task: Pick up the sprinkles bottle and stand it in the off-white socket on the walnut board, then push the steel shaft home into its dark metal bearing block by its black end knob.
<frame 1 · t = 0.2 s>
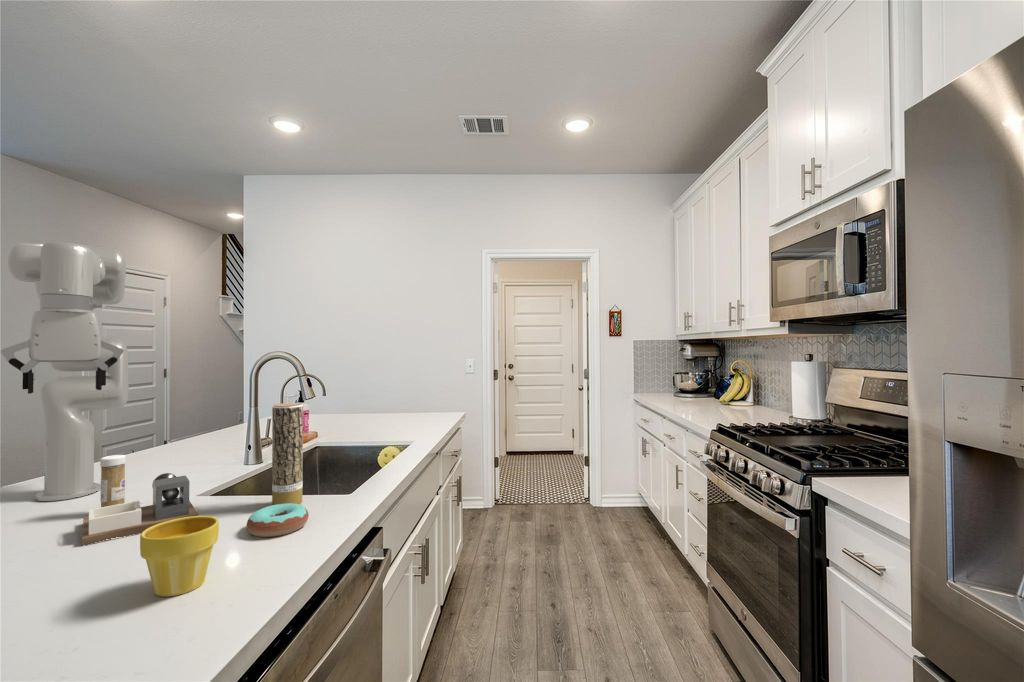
hand: (65, 391, 89), 31 cm above the countertop, tool pointing down, fingers open, 9 cm apart
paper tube: (287, 505, 112), on the countertop
donut: (278, 529, 98), on the countertop
bearing block: (171, 497, 102), on the walnut board, point 5 cm above the countertop
plant pot: (180, 587, 74), on the countertop
sprinkles bottle: (112, 513, 107), on the countertop
socket: (115, 516, 96), on the walnut board, point 2 cm above the countertop
walnut board: (141, 522, 101), on the countertop
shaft: (168, 488, 106), point 6 cm above the countertop, slide at 5.0 cm
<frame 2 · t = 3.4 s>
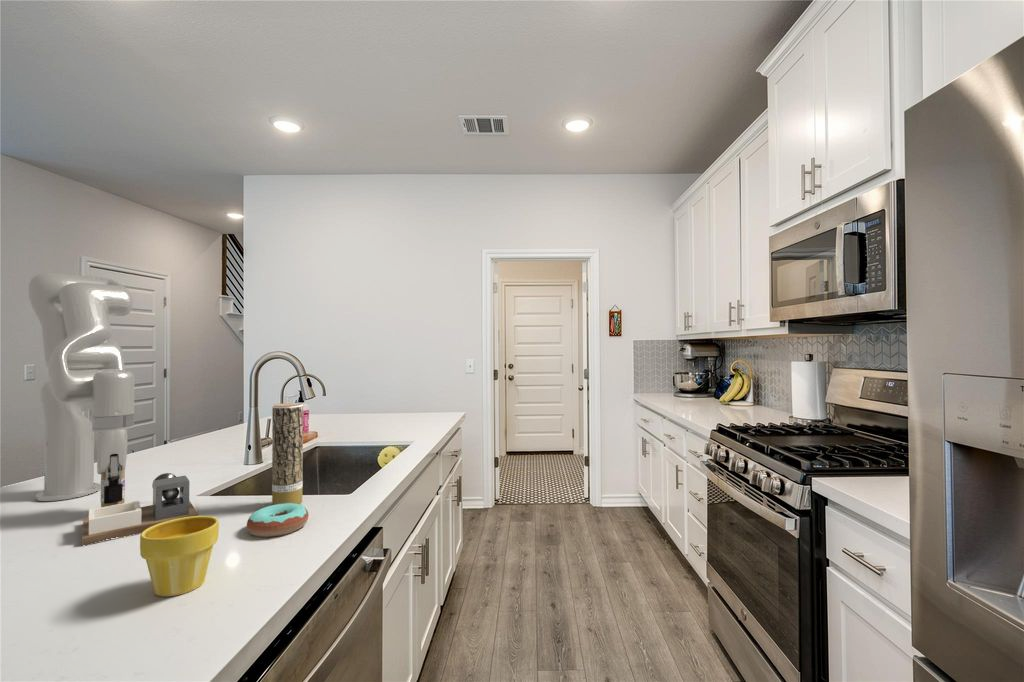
hand: (112, 498, 107), 3 cm above the countertop, tool pointing down, fingers closed on sprinkles bottle, 4 cm apart
sprinkles bottle: (112, 513, 107), on the countertop, touching gripper
everything else where it was.
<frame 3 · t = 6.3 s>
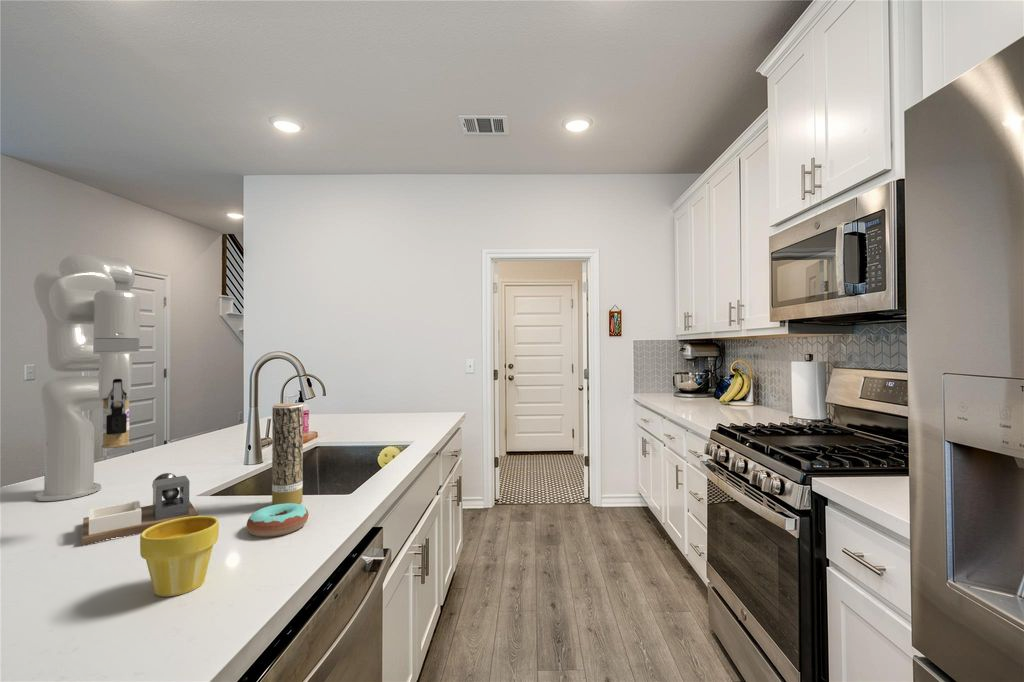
hand: (115, 431, 97), 21 cm above the countertop, tool pointing down, fingers closed on sprinkles bottle, 4 cm apart
sprinkles bottle: (115, 447, 97), point 18 cm above the countertop, touching gripper
everything else where it was.
when the fingers open (6 cm above the countertop, at t = 9.5 s): sprinkles bottle drops 1 cm, resting on walnut board.
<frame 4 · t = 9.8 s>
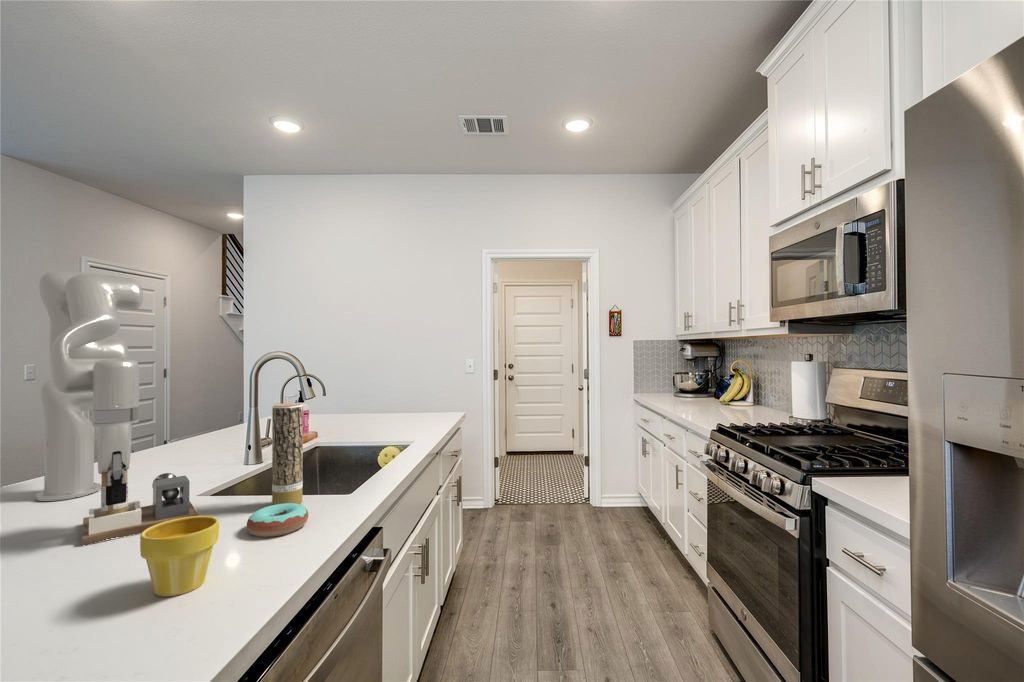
hand: (115, 498, 96), 7 cm above the countertop, tool pointing down, fingers open, 7 cm apart
sprinkles bottle: (114, 524, 96), point 1 cm above the countertop, touching walnut board
everything else where it was.
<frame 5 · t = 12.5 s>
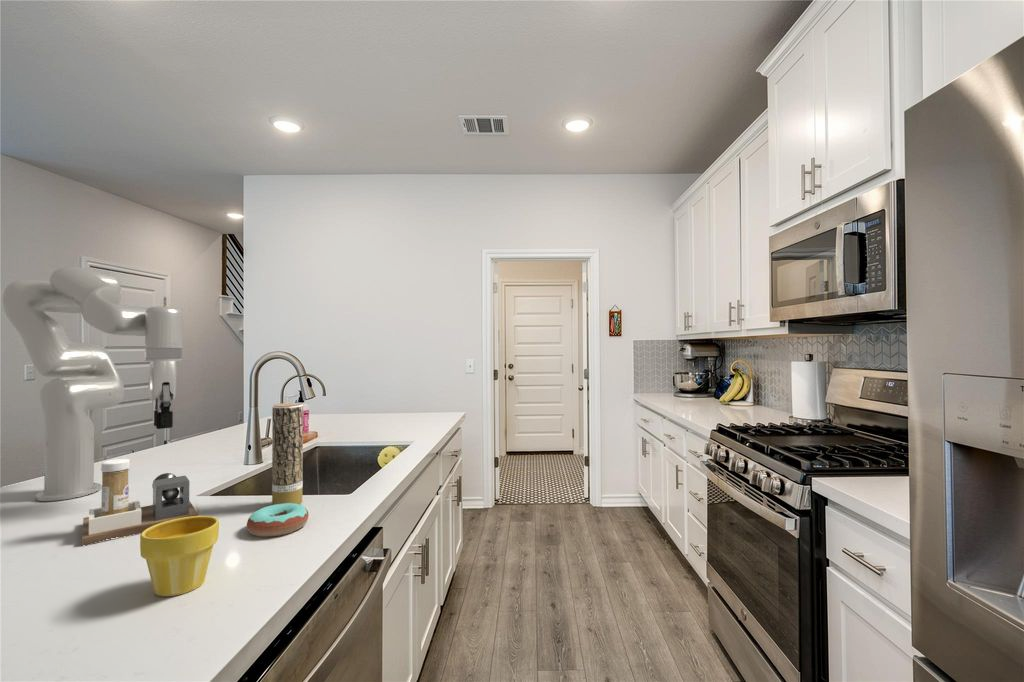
hand: (163, 426, 114), 19 cm above the countertop, tool pointing down, fingers open, 4 cm apart
nothing on the countertop moved.
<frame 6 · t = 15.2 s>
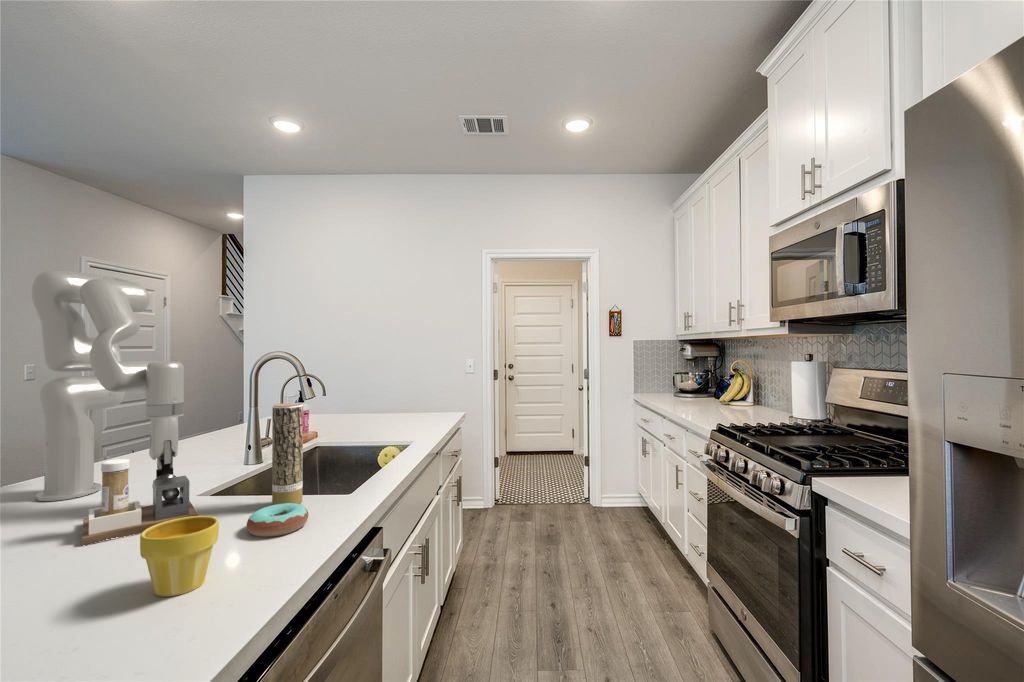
hand: (164, 484, 112), 5 cm above the countertop, tool pointing down, fingers closed
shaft: (168, 488, 106), point 6 cm above the countertop, slide at 4.7 cm, touching gripper
everything else where it was.
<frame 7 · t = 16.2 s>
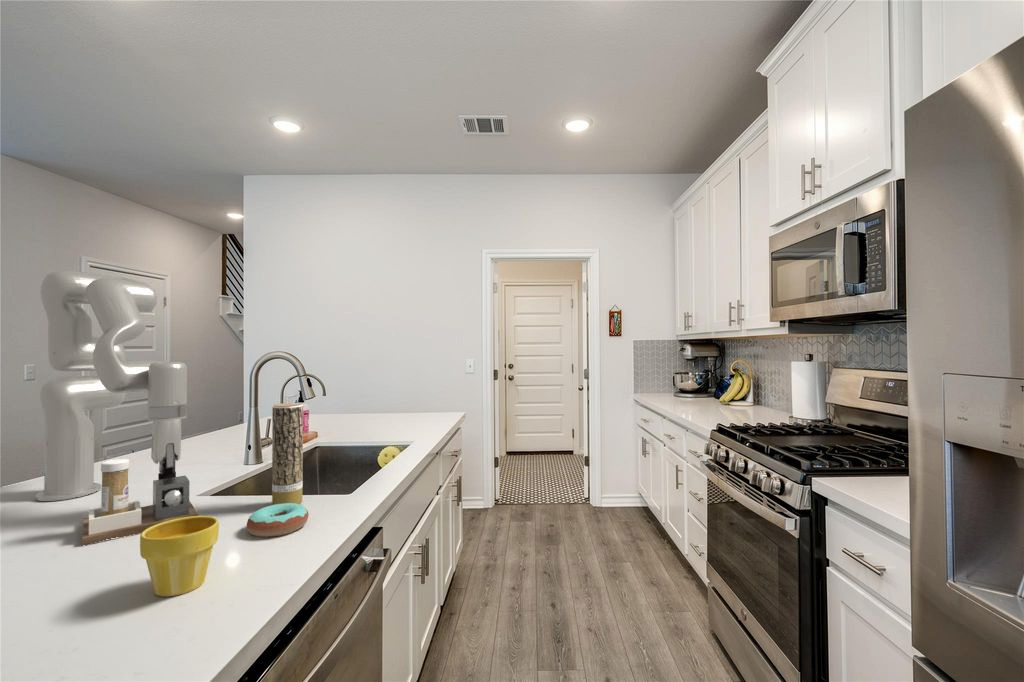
hand: (167, 489, 108), 5 cm above the countertop, tool pointing down, fingers closed
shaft: (170, 493, 102), point 6 cm above the countertop, slide at -0.1 cm, touching gripper
everything else where it was.
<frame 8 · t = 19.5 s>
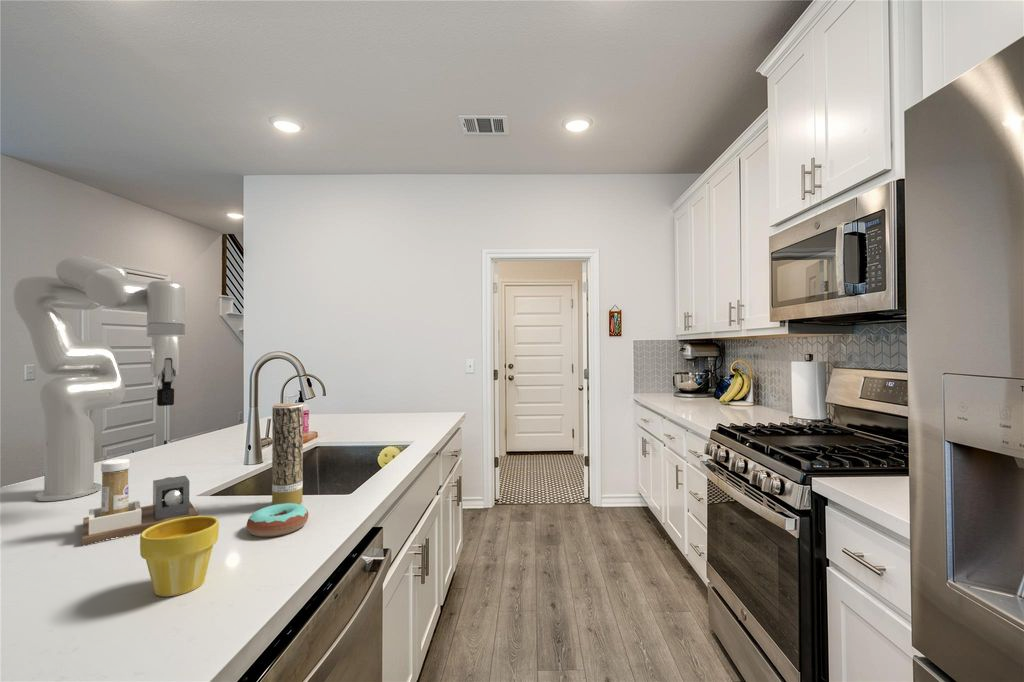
hand: (165, 405, 111), 25 cm above the countertop, tool pointing down, fingers closed
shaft: (170, 493, 102), point 6 cm above the countertop, slide at 0.0 cm
everything else where it was.
at the end: sprinkles bottle 0.3 cm from the target spot, point 1.3 cm above the countertop; sprinkles bottle tilted 0°; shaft slide at 0.0 cm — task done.
